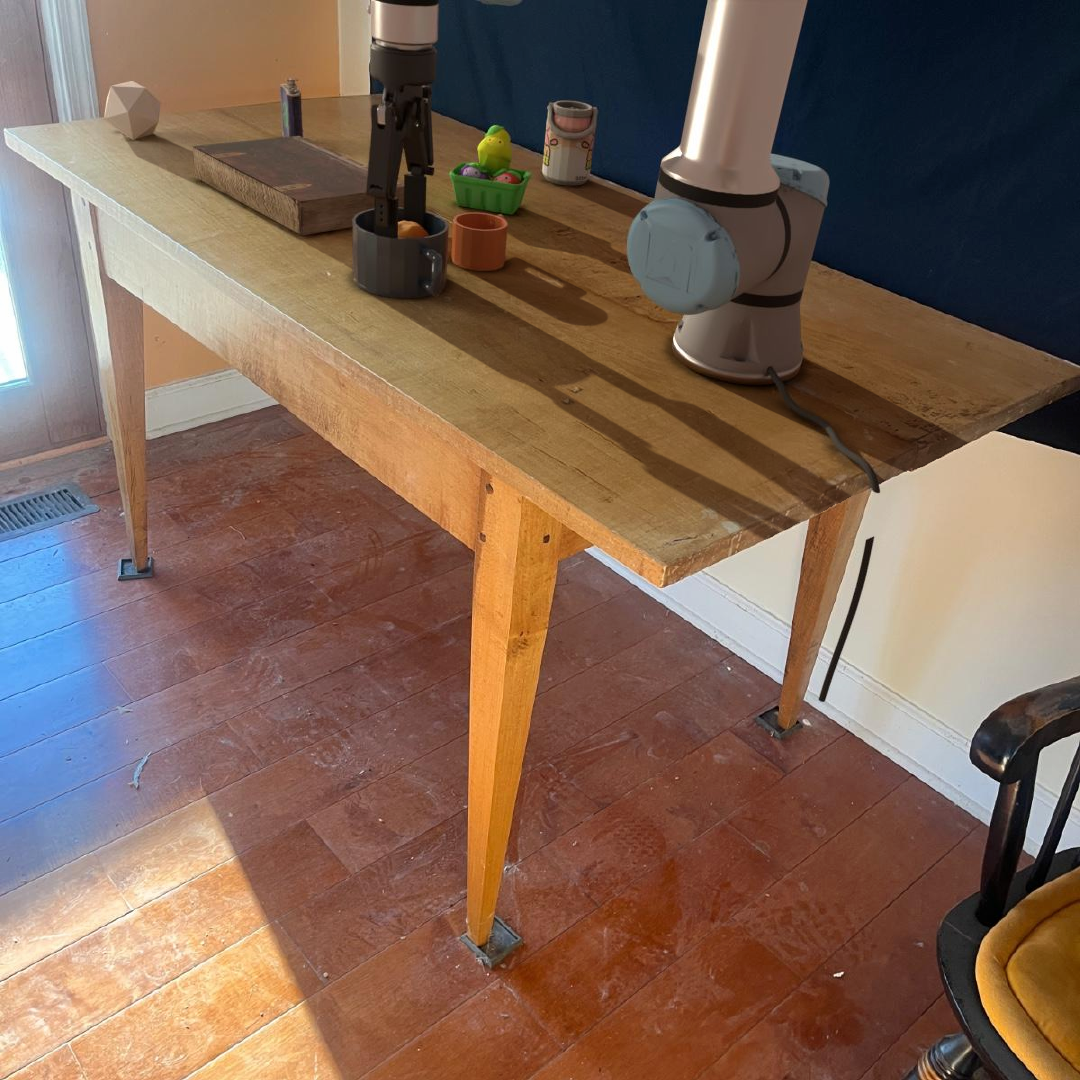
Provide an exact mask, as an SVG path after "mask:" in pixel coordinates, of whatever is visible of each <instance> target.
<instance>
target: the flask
mask: <svg viewBox="0 0 1080 1080" xmlns="http://www.w3.org/2000/svg"><path fill="white" fill-rule="evenodd" d="M285 81H286V83H281V84H280V85H279V92H280V93H279V94H280V95H279V96H280V108H281V130H282V133H281V137H291V136H301V137H303V138H304V130H303V128H304V127H303V109H302V108H303V107H302V92H301V90H300V89H299V88H298V86H297V84H296V82H298V81H299V78H295V77H294V78H285Z"/></svg>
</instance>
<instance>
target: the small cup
mask: <svg viewBox="0 0 1080 1080" xmlns="http://www.w3.org/2000/svg"><path fill="white" fill-rule="evenodd" d="M508 226H509V223H508V221H507V220H506V219H505V217H504V215H503V213H499V214H497V215H495V214H491V213H487V212H477V211H476V212H464V213H459V214H457V215H455V216H454V217H453V219H452V236H451V238H452V239H451V240H452V241H451V261H452V263H453V264H454V265H455V266H457V267H460V268H462V269H464V270H465V269H466V270H470V271H475V272H477V271H478V272H491V271H496V270H499V269H501V268H503V267H504V266H505V261H506V250H507V239H508V238H507V237H508Z"/></svg>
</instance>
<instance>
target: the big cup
mask: <svg viewBox="0 0 1080 1080" xmlns="http://www.w3.org/2000/svg"><path fill="white" fill-rule="evenodd" d="M374 217H375V208H374V209H369V210H365V211H362V212H360V213H358V214H356V215H355V216H354V217H353V219H352V227H351V229H352V230H351V233H352V234H351V236H352V237H351V239H352V240H351V241H352V246H351V247H352V281H353V283H354V284H355V285H356V286H357V288H359V289H360V290H363V291H364V292H367V293H370V294H373V295H376V296H381V297H384V298H392V299H418V298H419V299H420V298H425V297H430V296H433V297H436V298H437V297H439V296H440V295H441V294H442V290H444V288H445V287H446V285H447V278H448V275H447V274H448V254H449V253H448V252H449V231H450V230H449V229H450V226H449V223H448V221H447V220H446V219H444V218H443V217H442V216H440V215H437V214H435V213H433V212H430V211H426V215H425V228H424V230H425V231H426V232H427V233H428V235H429V236H428V237H421V238H395V237H387V236H382V235H377V234H374ZM403 217H404V208H401V207H398V222H401V221H403Z"/></svg>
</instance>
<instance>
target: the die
mask: <svg viewBox="0 0 1080 1080" xmlns="http://www.w3.org/2000/svg"><path fill="white" fill-rule="evenodd" d="M161 104H162V102H161V101H160V100H159V99H158V98H157V97H156V96H155V95H153V94H152V93H151V91H149V90H148V89H147V88H146V87H145V86H143V85H141V84H139V83H137V82H135V81H133V80H129V81H124V82H122V83H117V84H114V85H111V86H110V87H109V92H108V94H107V97H106V102H105V108H104V109H105V110H104V116H103V120H105V121H106V122H107V123H109V124H110V125H111V126H112V127H114V128H115V130H117V131H119V132H120V133H122V134H123V135H124V136H126V137H128V139H131V140H132V141H135V140H138V139H142V138H144V137H147V136H150V135H153V134H154V133H155V131H156V129H157V126H158V124H159V122H160V121H159V120H160V113H161V112H160V111H161Z"/></svg>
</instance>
